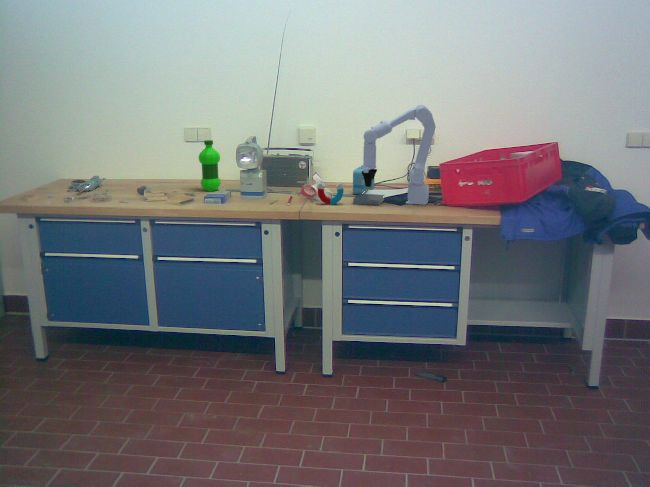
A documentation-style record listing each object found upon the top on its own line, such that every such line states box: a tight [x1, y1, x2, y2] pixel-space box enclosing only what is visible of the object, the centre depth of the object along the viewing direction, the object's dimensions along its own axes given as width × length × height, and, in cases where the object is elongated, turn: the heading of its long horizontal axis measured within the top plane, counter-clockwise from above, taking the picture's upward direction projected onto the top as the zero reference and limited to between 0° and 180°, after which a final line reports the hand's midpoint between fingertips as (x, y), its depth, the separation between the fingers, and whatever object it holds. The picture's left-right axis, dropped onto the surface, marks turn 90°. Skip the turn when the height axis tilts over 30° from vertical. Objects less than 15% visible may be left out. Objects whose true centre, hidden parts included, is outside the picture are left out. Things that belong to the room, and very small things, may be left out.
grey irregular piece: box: [67, 175, 106, 195], centre depth 332 cm, size 6×28×16 cm
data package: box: [352, 166, 367, 195], centre depth 323 cm, size 12×4×12 cm, turn 161°
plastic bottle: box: [198, 139, 222, 192], centre depth 327 cm, size 10×10×25 cm
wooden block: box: [364, 178, 375, 191], centre depth 301 cm, size 4×4×4 cm
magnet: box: [317, 181, 344, 206], centre depth 298 cm, size 12×3×10 cm, turn 86°
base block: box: [352, 193, 385, 207], centre depth 303 cm, size 12×12×2 cm
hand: (369, 185), depth 301 cm, fingers closed on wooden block, 4 cm apart
